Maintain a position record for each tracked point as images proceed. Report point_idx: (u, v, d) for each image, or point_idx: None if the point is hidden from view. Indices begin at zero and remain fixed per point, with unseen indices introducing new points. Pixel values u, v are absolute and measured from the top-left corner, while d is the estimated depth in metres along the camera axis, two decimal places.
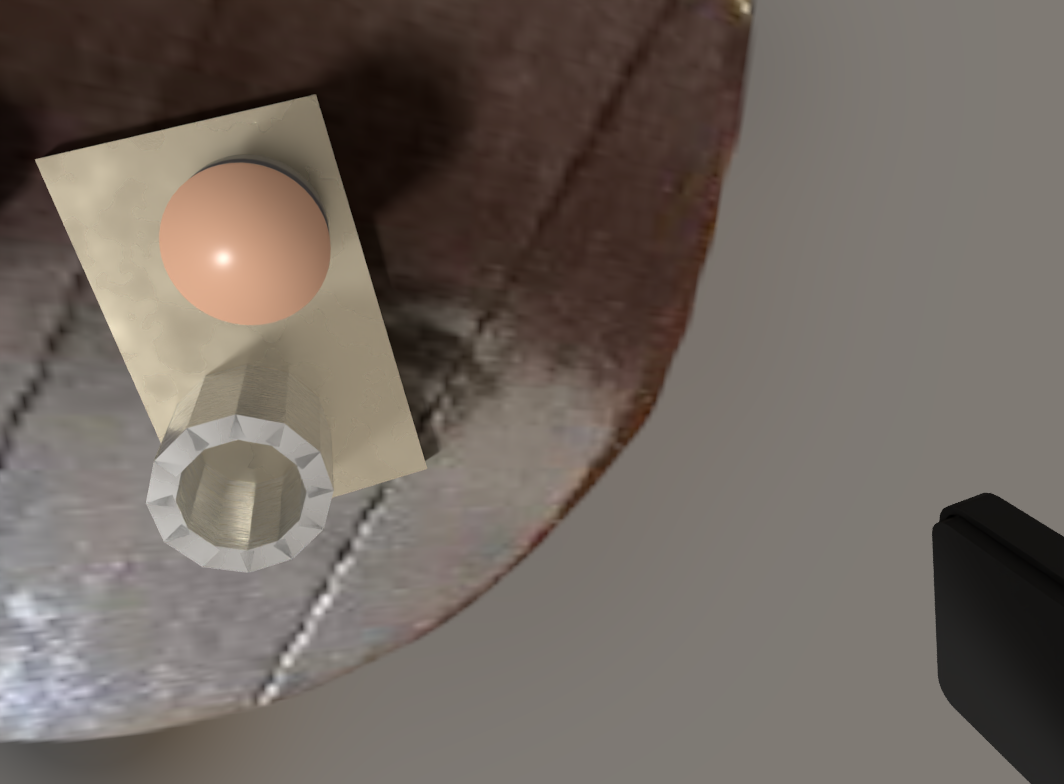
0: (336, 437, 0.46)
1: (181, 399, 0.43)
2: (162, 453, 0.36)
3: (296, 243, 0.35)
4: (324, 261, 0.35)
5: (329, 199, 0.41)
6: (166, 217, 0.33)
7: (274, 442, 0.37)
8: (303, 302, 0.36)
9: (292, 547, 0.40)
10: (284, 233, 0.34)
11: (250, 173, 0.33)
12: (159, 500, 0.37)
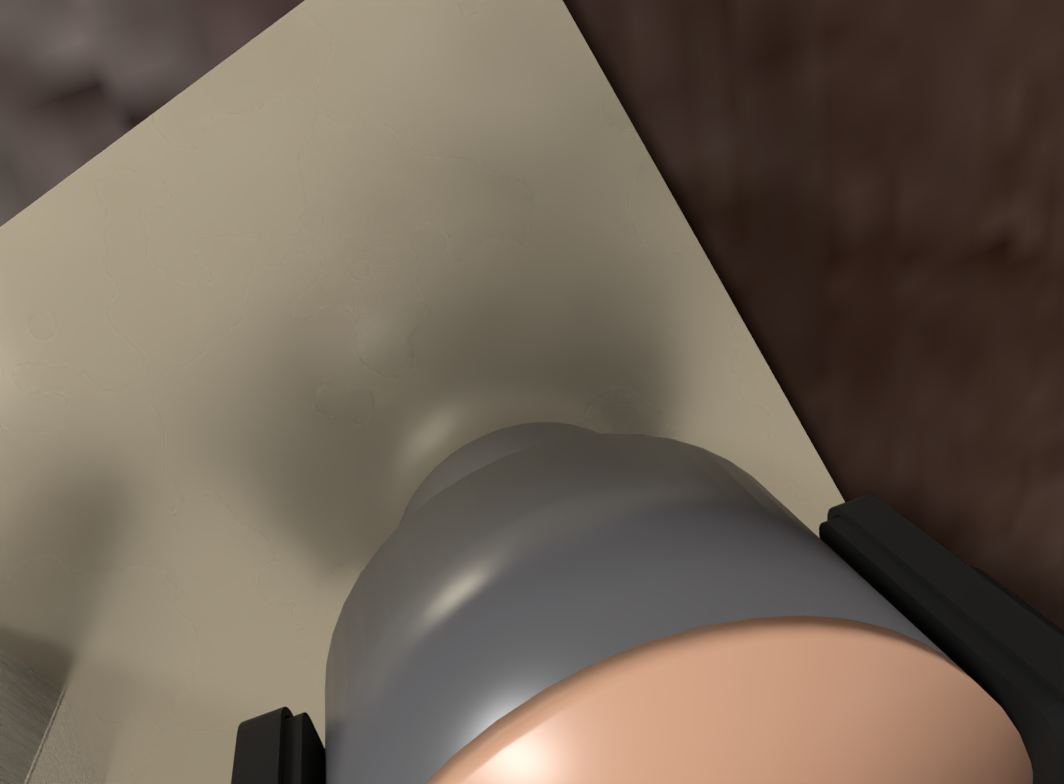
0: None
1: None
2: None
3: None
4: None
5: None
6: (766, 660, 0.06)
7: None
8: None
9: None
10: None
11: None
12: None
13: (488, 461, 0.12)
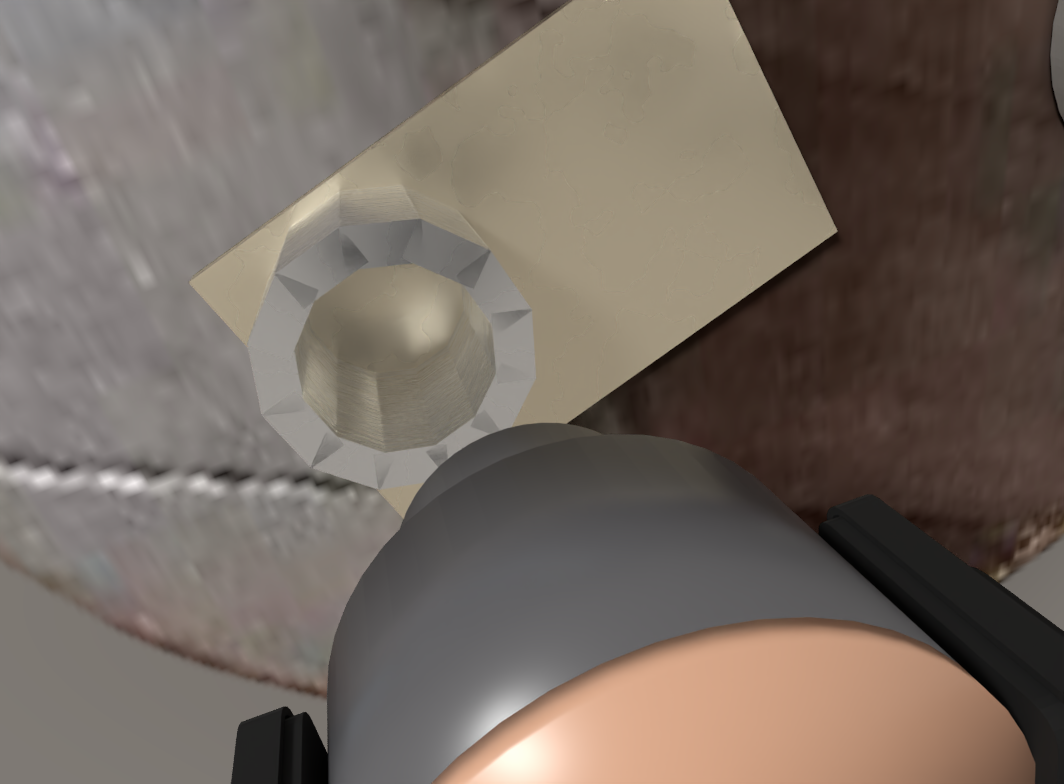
0: None
1: (411, 188, 0.29)
2: (436, 227, 0.22)
3: None
4: None
5: (728, 286, 0.33)
6: (770, 662, 0.06)
7: (502, 375, 0.24)
8: None
9: (332, 460, 0.24)
10: None
11: None
12: (351, 245, 0.22)
13: (491, 462, 0.12)
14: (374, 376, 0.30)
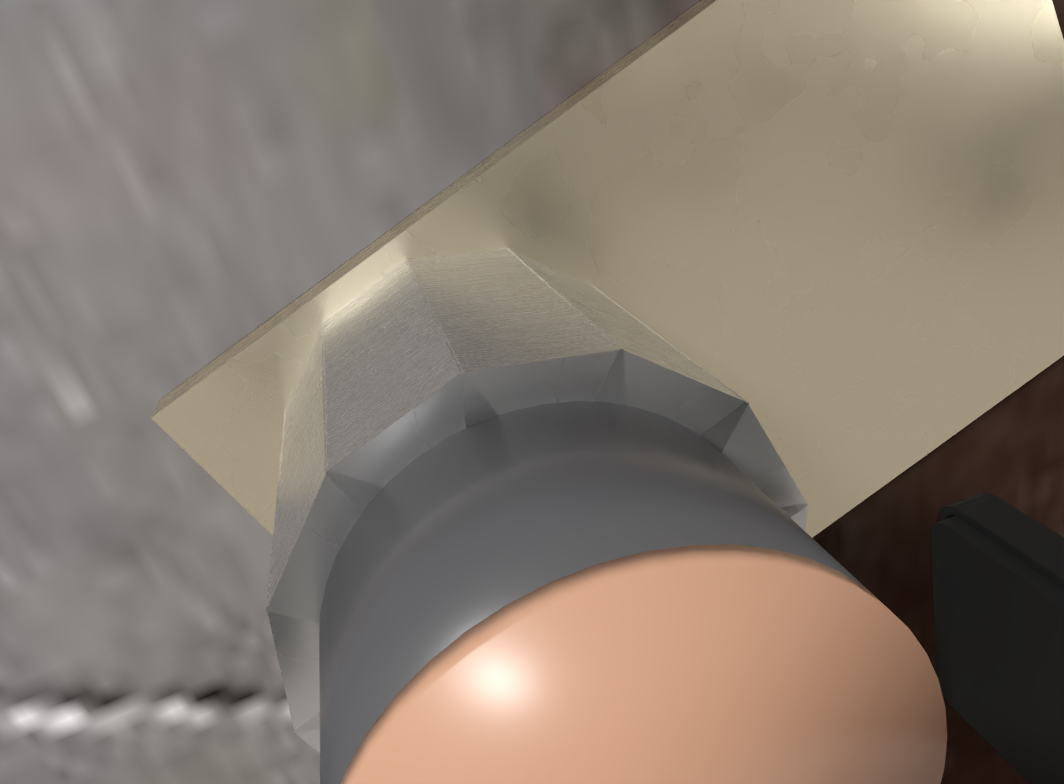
0: None
1: (523, 254, 0.17)
2: (651, 363, 0.11)
3: None
4: None
5: (981, 385, 0.22)
6: (696, 579, 0.07)
7: None
8: None
9: None
10: None
11: (916, 744, 0.09)
12: (483, 407, 0.11)
13: None
14: None
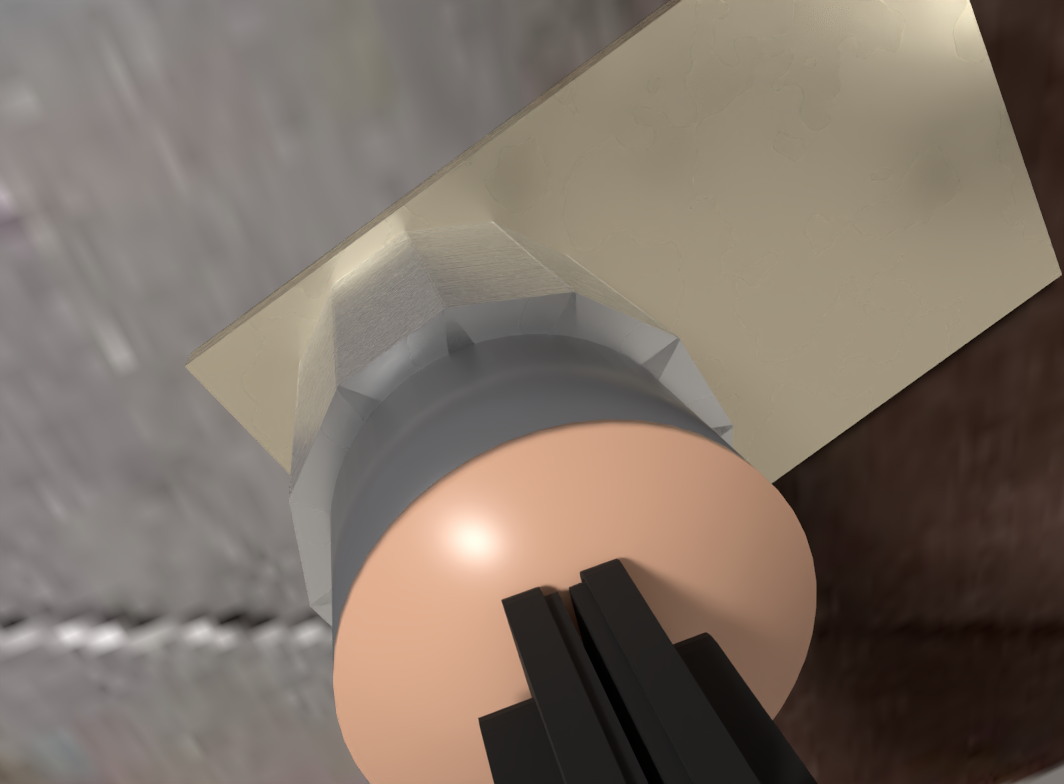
0: None
1: (506, 227, 0.20)
2: (598, 304, 0.14)
3: None
4: None
5: (918, 350, 0.24)
6: (609, 441, 0.10)
7: None
8: None
9: None
10: None
11: (791, 587, 0.12)
12: (462, 337, 0.13)
13: None
14: None
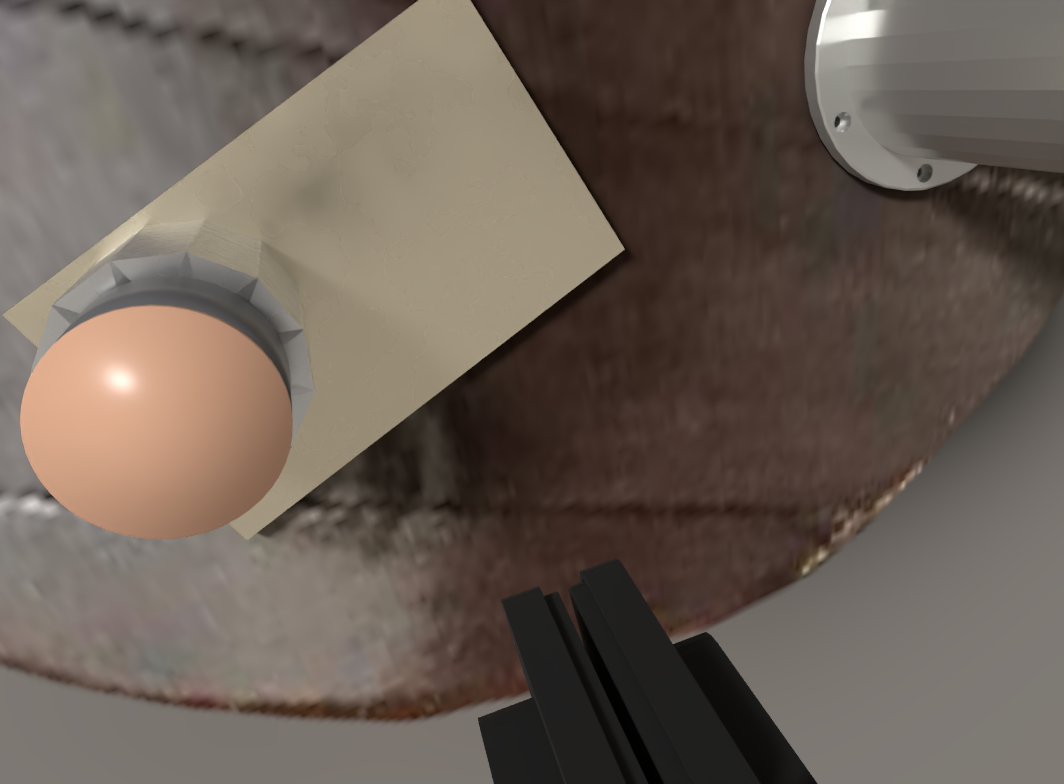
0: None
1: (213, 222, 0.31)
2: (203, 258, 0.25)
3: (204, 484, 0.23)
4: (197, 527, 0.23)
5: (528, 301, 0.36)
6: (147, 313, 0.21)
7: None
8: (119, 528, 0.23)
9: None
10: (210, 465, 0.23)
11: (272, 394, 0.23)
12: (123, 277, 0.24)
13: None
14: None
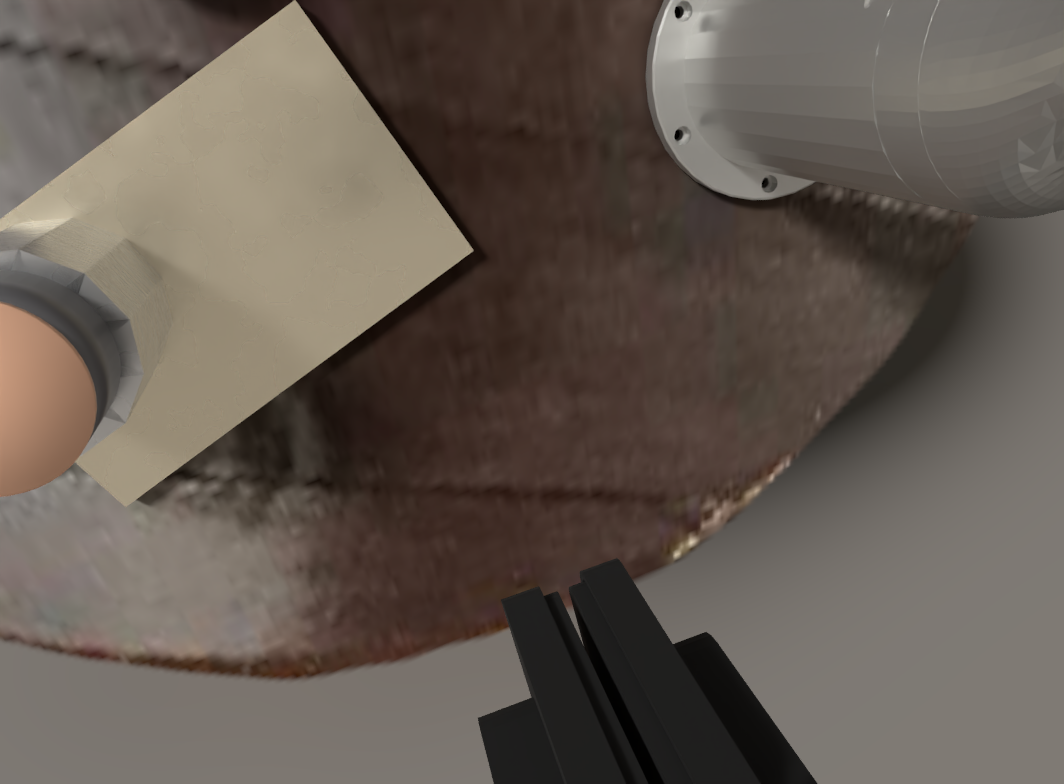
0: None
1: (80, 220, 0.35)
2: (34, 255, 0.29)
3: (17, 451, 0.27)
4: (14, 488, 0.27)
5: (382, 297, 0.39)
6: None
7: None
8: None
9: None
10: (22, 435, 0.27)
11: (74, 375, 0.26)
12: None
13: None
14: None
